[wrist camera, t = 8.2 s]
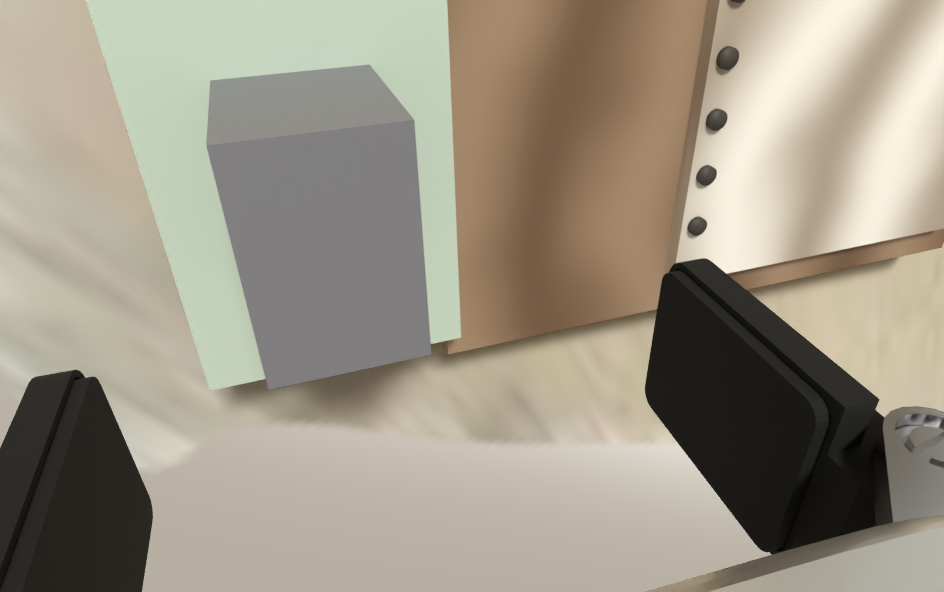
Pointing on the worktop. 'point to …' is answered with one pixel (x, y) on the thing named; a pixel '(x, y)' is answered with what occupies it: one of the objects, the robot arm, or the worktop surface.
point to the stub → (295, 175)
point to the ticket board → (684, 148)
